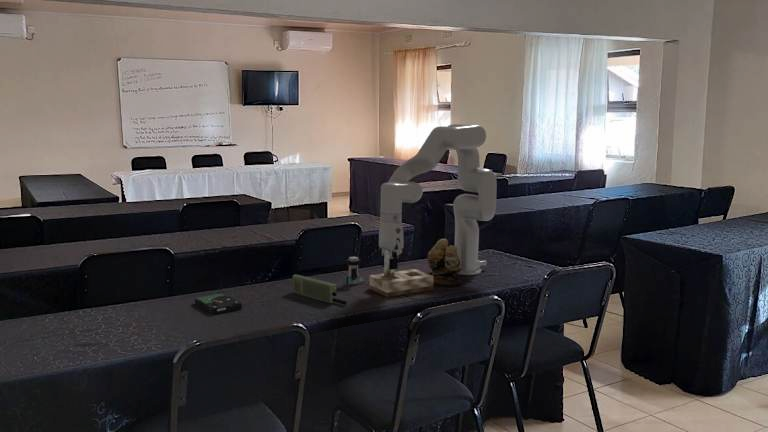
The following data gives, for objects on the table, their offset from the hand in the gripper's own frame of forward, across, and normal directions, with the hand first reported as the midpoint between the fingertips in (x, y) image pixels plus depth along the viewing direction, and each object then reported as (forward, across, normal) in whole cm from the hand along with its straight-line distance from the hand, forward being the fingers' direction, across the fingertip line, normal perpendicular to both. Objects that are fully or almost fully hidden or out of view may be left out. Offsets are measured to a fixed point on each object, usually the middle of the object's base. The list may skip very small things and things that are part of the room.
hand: (389, 267), depth 239 cm
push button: (+9, +15, +6) cm, 19 cm away
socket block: (+9, 0, -5) cm, 10 cm away
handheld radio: (+9, +4, +26) cm, 28 cm away
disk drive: (+10, +12, +59) cm, 61 cm away
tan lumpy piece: (+9, +1, -25) cm, 27 cm away
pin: (+3, 0, 0) cm, 3 cm away
